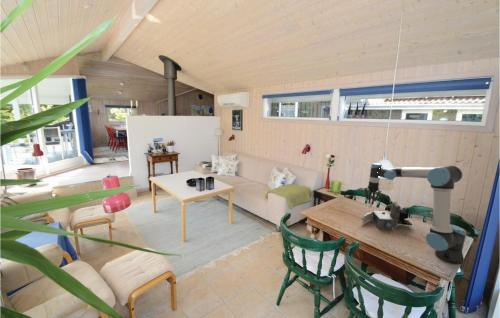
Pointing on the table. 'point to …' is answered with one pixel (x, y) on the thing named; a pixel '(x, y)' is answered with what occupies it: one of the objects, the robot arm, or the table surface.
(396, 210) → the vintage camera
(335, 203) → the table surface
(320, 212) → the table surface
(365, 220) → the side door
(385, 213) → the camera housing
